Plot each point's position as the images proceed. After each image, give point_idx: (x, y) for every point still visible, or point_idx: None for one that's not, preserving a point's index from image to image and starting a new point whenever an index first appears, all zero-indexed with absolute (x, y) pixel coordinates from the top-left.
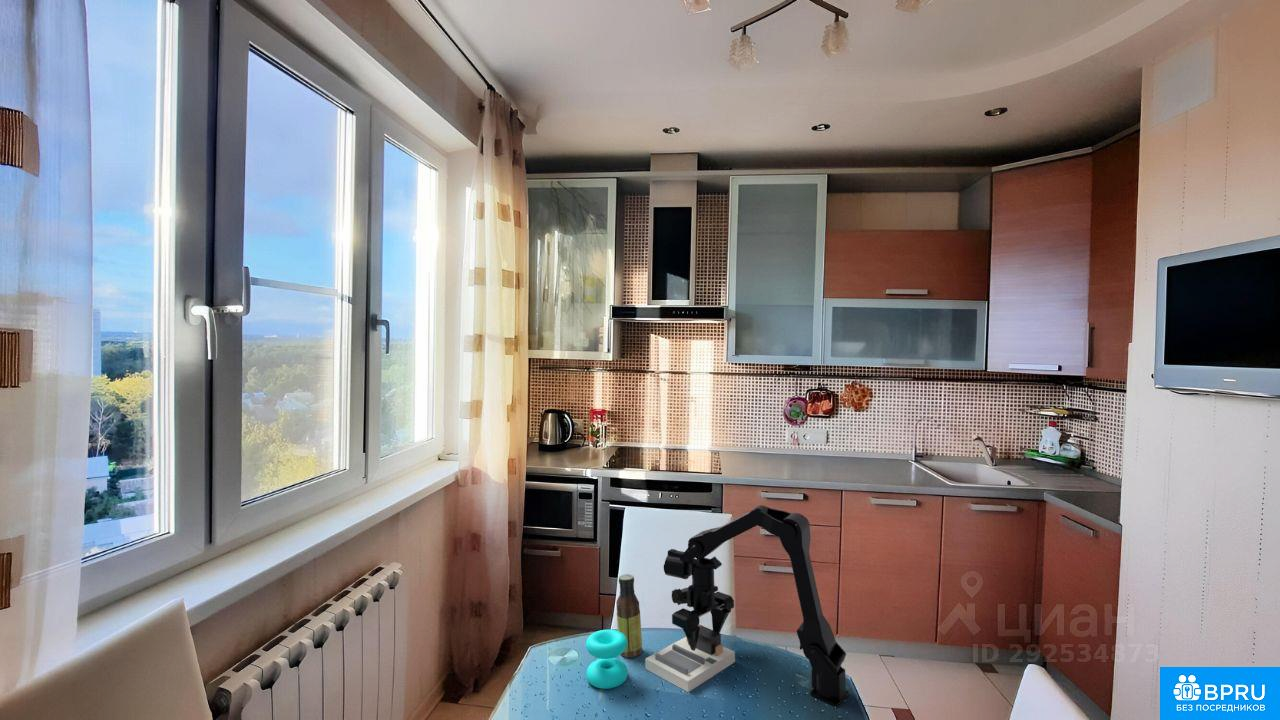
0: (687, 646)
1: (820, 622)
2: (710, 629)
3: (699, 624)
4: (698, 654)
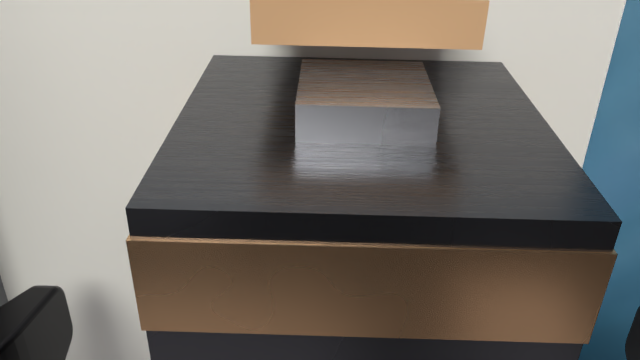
0: (160, 82)
1: None
2: None
3: (603, 280)
4: (132, 320)
